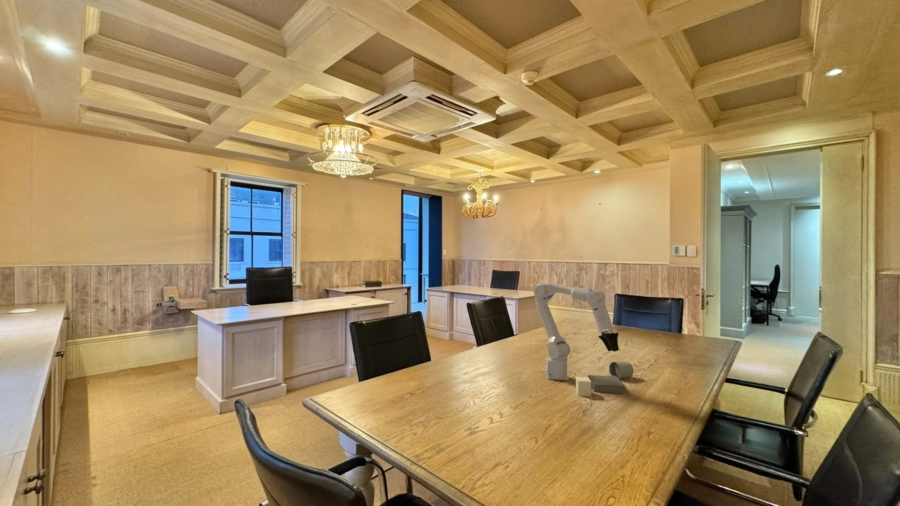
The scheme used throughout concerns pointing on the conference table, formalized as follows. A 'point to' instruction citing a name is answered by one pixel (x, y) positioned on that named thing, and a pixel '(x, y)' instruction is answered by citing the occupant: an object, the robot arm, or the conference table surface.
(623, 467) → the conference table surface
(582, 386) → the cream block
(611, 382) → the gray plinth
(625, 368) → the ceramic mug
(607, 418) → the conference table surface
